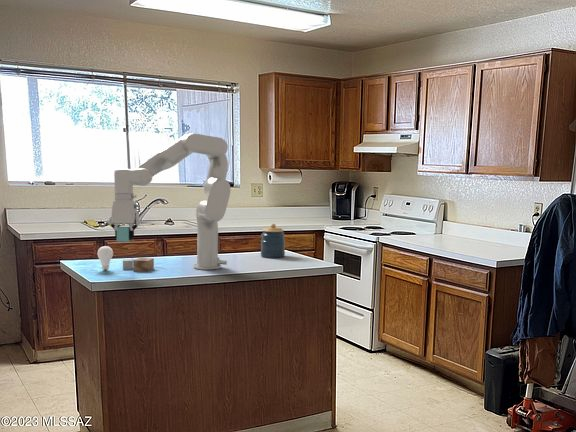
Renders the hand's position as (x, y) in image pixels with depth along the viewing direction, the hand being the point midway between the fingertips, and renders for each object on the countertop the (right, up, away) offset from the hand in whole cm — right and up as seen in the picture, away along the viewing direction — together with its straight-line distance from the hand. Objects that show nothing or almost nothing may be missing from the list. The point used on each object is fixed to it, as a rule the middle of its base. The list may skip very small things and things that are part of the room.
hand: (124, 239), depth 227 cm
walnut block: (+5, -15, +10) cm, 19 cm away
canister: (+62, -12, +55) cm, 84 cm away
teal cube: (0, -1, 0) cm, 1 cm away
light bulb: (-11, -15, +7) cm, 19 cm away
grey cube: (-2, -14, +13) cm, 19 cm away
